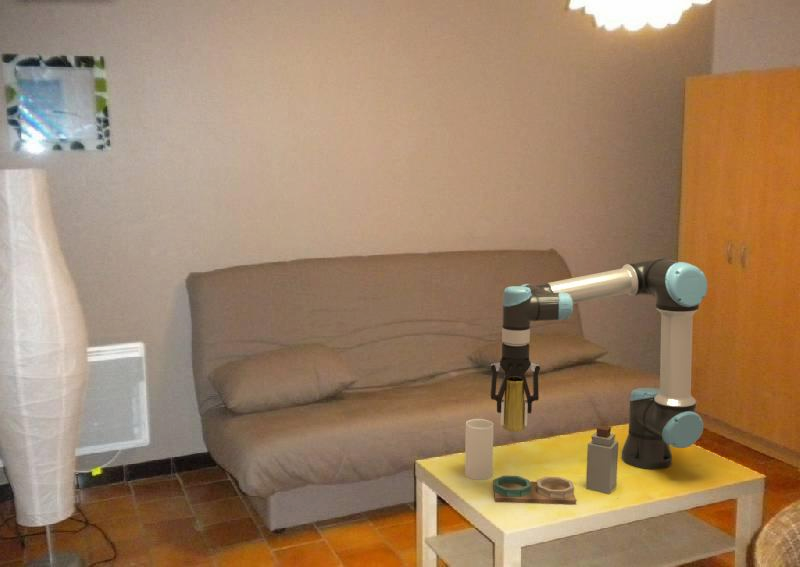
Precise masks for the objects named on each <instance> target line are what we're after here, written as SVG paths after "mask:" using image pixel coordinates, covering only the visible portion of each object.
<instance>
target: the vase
mask: <svg viewBox="0 0 800 567" xmlns="http://www.w3.org/2000/svg"><path fill="white" fill-rule="evenodd" d="M523 382H524V380H523V381H522V380H521V377H517V376H513V377H510V378H509V380H507V386H506V389H505V392H504V425H502V429H503V430H505V431H508V432H512V433H513V432H514V433H519V432H522V431H524V430H525V429H526V428H525V427H526V426H524V400H525V390H524V387H523Z"/></svg>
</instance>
